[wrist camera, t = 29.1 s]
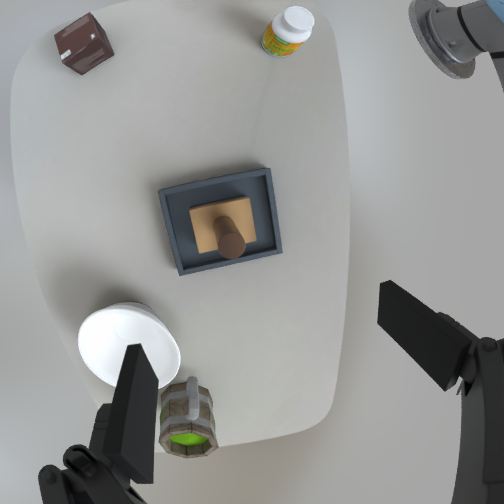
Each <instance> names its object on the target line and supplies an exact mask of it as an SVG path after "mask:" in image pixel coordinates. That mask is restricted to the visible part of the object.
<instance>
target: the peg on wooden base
mask: <svg viewBox="0 0 504 504" xmlns="http://www.w3.org/2000/svg"><path fill="white" fill-rule="evenodd" d="M189 212H190V217H191V221H192V225H193V230H194V234H195V238H196V243H197V247H198V251H199V253H204V252H208V251H213V250H217V249H218V250H219V252H220V254H221V255H222V256H223V257H225V258H227V259H235V258H238V257H239V256H241V255H242V254H243V252H244V250H245V246H246V244H245V243H249V242H254V241H257V239H256V233H255V227H254V221H253V215H252V210H251V204H250V198H249V197H247V196H246V195H242V196H236V197H231V198H227V199H222V200H217V201H212V202H208V203H203V204H198V205H194V206H190V210H189Z"/></svg>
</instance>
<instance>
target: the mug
mask: <svg viewBox="0 0 504 504" xmlns="http://www.w3.org/2000/svg"><path fill="white" fill-rule="evenodd" d="M161 400H162V407H161V414H160V437H159V443H160V445H161V446H162V447H163V449H164V450H165V451H166V452H167V453H170V454H173V455H176V456H180V457H184V458H194V457H203V456H208V455H209V454H210V453H211V452H213V451H214V450H216V449H217V448H218V443H217V440H216V434H215V421H214V417H213V410H212V405H213V402H212V399H211V396H210V394H209V391H208V389H205V388H203V387H200V386H198V380H197V378H196V377H188V379H187V383H182V384H174V385H170V386H169V387H168V388H167V389H166V391H165V392H164V393H163V394H162V396H161Z"/></svg>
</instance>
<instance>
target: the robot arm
mask: <svg viewBox="0 0 504 504" xmlns="http://www.w3.org/2000/svg"><path fill="white" fill-rule="evenodd" d="M427 22H428V26H429V28H430V31H431V33H432V35H433V37H434V39H435V41H436V42H437V44H438V45H439V47H440V48H441V50H442V51H443V52H444V53H445V54H446V55H447V56H448V57H449V58H450V59H451V60H453V61H454V62H456V63H460V64H462V63H467V62H469V61H471V60H472V59H473V58H475V57H476V56H478V55H479V54H480V53H482V52H487V51H489V53H490V56H491V58H492V60H493V63H494V65H495V68H496V71H497V73H498V76H499V79H500V82H501V85H502V88H503V91H504V0H480V1H476V2H473V3H470V4H466V5H463V6H460V7H435V8H432V9H430V10H429V11H428V13H427ZM377 323H378V324H379V325H380V326H381V327H382V328H383V329H384V330H385V331H386V332H387V333H388V334H389V335H390V336H391V337H392V338H393V339H394V340H395V341H396V342H397V343H398V344H399V345H400V346H401V347H402V348H403V349H404V350H405V351H406V352H407V353H408V354H409V355H410V356H411V357H412V358H413V359H414V360H415V361H416V362H417V363H418V364H419V365H420V366H421V367H422V368H423V370H424V371H425V372H427V374H428V375H429V376H430V377H431V378H432V379H433V380H434V381H435V382H436V383H437V384H438V385H439V386H440V387H441V388H442V389H443V390H444V391H447V390H448V389H450V388H451V387H452V386H454V385H455V384H456V382H457V380H458V377H459V376H460V377H462V378H463V380H462V382H461V384H460V386H459V389H458V391H457V394H456V395H458V394H459V392H460V390H461V395H462V416H461V439H460V452H459V461H458V468H457V475H456V481H455V487H454V493H453V498H452V502H451V504H504V338H503V339H500V340H497V341H496V340H495V339H492V338H489V337H484V338H481V339H479V338H478V337H477V336H475V335H474V334H473V333H471V332H470V331H469V330H467V329H466V328H465V327H464V326H462V325H460V323H458V322H457V321H455V320H454V319H453V318H451V317H450V316H449V315H447V314H444V313H441V312H439V313H435V312H434V311H433V310H432V309H430V308H429V307H428V306H426V305H424V304H423V303H422V302H421V301H419V300H418V299H417V298H415V297H414V296H412V295H411V294H410V293H408V292H407V291H405V290H404V289H402V288H401V287H400V286H398V285H397V284H396V283H394V282H393V281H391V280H389V281H386V282H383V283H380V292H379V308H378V321H377ZM158 386H159V380H158V378H157V376H156V374H155V372H154V370H153V368H152V366H151V364H150V362H149V360H148V358H147V356H146V354H145V352H144V349H143V347H142V345H141V343H138V344H132V345H127V348H126V352H125V355H124V359H123V362H122V366H121V369H120V373H119V377H118V381H117V385H116V389H115V393H114V397H113V401H112V403H109V404H103V405H102V406H101V408H100V409H99V410H98V412H97V415H96V419H95V423H94V427H93V428H94V430H93V432H92V436H91V440H90V445H89V449H88V448H87V447H86V446H84V445H81V444H80V445H73V446H71V447H69V448H68V449H67V450H66V452H65V454H64V456H63V463H64V465H65V466H66V467H67V468H68V469H66V470H60V469H59V468H57V467H56V466H54V465H46V466H44V467H43V468H42V469H41V470H40V472H39V475H38V480H39V486H40V491H41V496H42V500H43V504H147V503H146V502H145V501H144V500H143V499H142V498H141V496H140V495H139V494H138V493H137V492H136V491H135V490H134V489H133V488H132V487H131V486H130V478H131V479H132V480H133V481H134V482H135V483H137V484H153V471H154V441H155V423H156V409H157V397H158Z"/></svg>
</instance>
